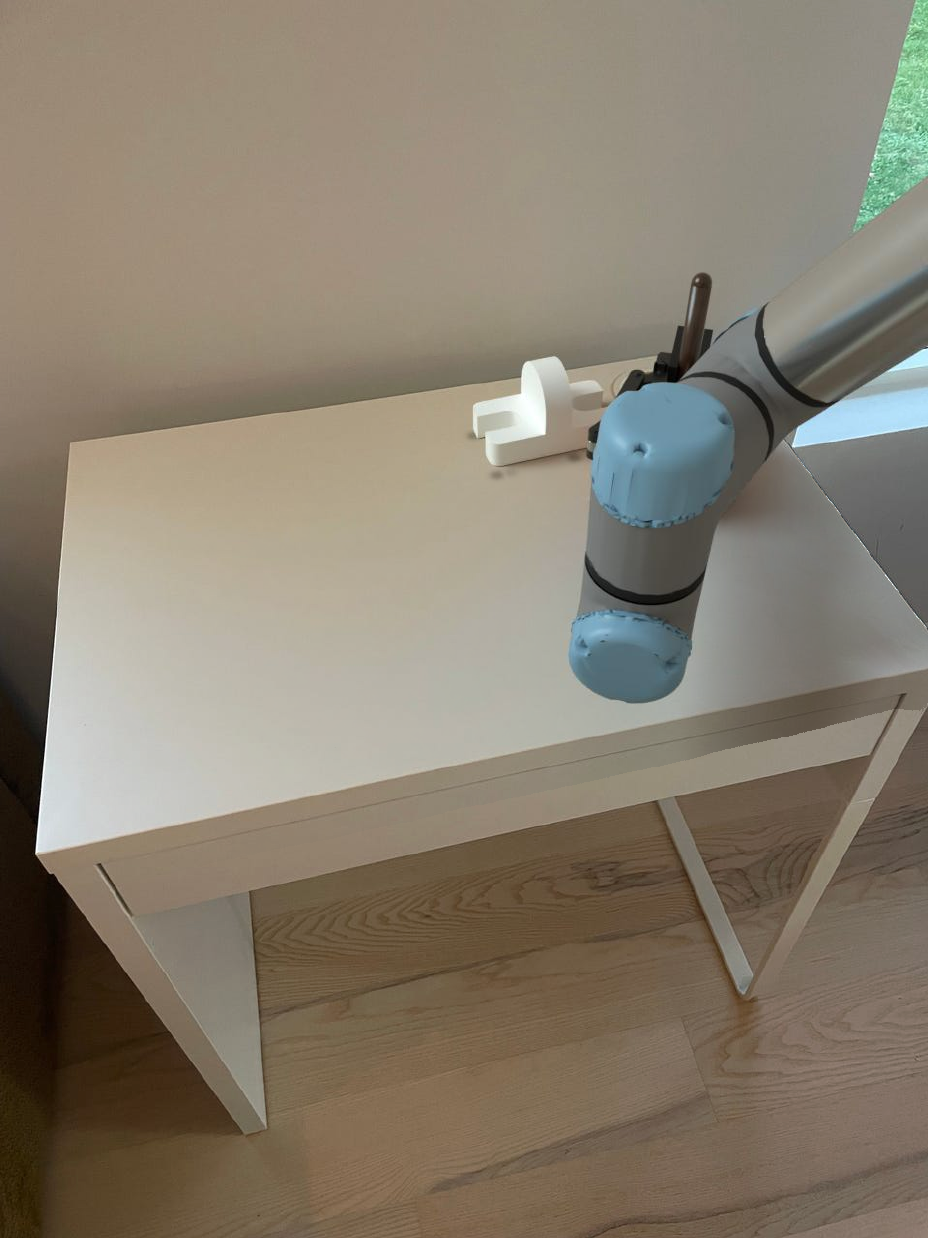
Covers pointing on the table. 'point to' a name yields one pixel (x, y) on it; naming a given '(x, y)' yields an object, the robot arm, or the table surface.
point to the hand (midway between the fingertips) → (693, 341)
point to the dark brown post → (694, 322)
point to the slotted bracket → (539, 415)
